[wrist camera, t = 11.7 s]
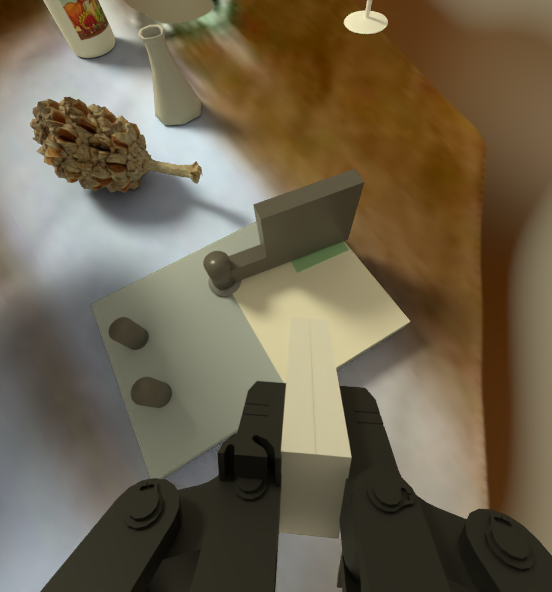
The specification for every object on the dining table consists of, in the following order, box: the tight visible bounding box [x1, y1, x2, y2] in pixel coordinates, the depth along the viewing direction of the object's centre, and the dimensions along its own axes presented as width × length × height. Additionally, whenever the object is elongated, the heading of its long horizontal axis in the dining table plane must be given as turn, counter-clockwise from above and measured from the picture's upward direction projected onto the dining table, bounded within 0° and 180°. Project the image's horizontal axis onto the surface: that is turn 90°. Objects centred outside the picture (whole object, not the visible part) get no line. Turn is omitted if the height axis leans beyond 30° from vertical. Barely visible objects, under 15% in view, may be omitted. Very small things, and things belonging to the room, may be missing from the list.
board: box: [90, 222, 410, 479], centre depth 29 cm, size 26×18×5 cm
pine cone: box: [30, 97, 202, 193], centre depth 35 cm, size 22×10×10 cm, turn 76°
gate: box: [203, 169, 364, 290], centre depth 27 cm, size 15×2×8 cm, turn 112°
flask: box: [139, 24, 202, 125], centre depth 41 cm, size 7×7×10 cm
